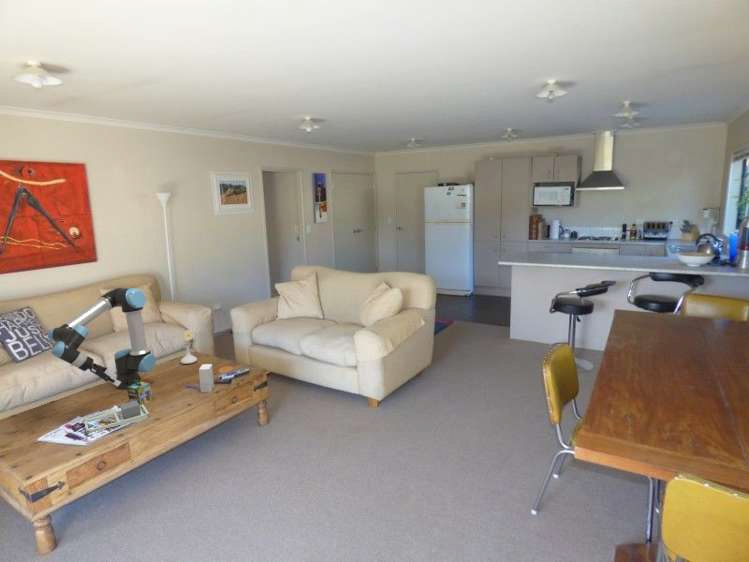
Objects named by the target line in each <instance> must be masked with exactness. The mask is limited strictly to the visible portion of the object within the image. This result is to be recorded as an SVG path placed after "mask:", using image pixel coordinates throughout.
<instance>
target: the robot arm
mask: <svg viewBox="0 0 749 562" xmlns="http://www.w3.org/2000/svg"><path fill="white" fill-rule="evenodd" d="M146 301H147V296H146V295H145V292H144V291H143V290H141V289H138V288H135V287H133V288H132V287H131V288H130V287H128V288H127V287H117V288H114V289H111V290H109V291H107V292H105V293H104V294H102V295H101V296H100V297H98V299H97V301H95V302H94V303H92V304H91V305H90V306H88V307H87V308H85V309H84V310H82V311H81V312H80V313H78V314H77V315H75V316H74V317H72V318H71V319H69V320H68V321H67V322H65V323H63V324H62V325H61V326H57V327H52V328H50V329H49V331H48V333H47V337H48V339H49V340H50V341H53V342H57V343H56V344H55V345H54V346H53V348H52V349H51V355H53V356H55V357H56V358H58V359H60V360H62V361H64V362H66V363H68V364H70V365H71V367H73V366H74V367H75V368H78V369H79V370H81V371H83V372H86V371H88V370H89V371H90V372H91V373H93V374H94V375H96V376H97V377H99V378H100V379H102V380H104V382H105V383H107V382H109V383H110V384H113V385H114V387H115V389H117V390H127V389H126V388H127V387H129V386H131V385H133V384H135V382H134V380H138V381H140V382H143V381H142V377H141V376H140V374H139V373H149V372H151V371H152V370H153V369H154V368H155V366H156V364H157V357H156V356H155V354H152V353H151V348H150V347H148V345H147V340H146V339H147V338H146V334H145V328H144V323H143V316H142V311H143V309H144V306H145V304H146ZM118 307H119V308H121V312H122V313H124V314H125V318H126V326H127V331H128V335H129V341H130V346H131V348H125V349H122V350H119V351H117V352H115V353H114V356H113V357H114V359H113V360H114V365H115V369H116V371H115V372H116V373H114V372H112V371H110V370H109V369H108V367H104V366H102V365H99V364H97V363H95V362H94V358H92V357H91V356H87V355H86V354H85V353H84V352H81V351H79V350H78V349H79V348H80V346H81V345H82V343H83V342H84V341H85V339H86V338H87V336H88V335H89V333H90V330H89V329H88V328H87V327H85V326H87V325H89V324H90V323H91V322H93V321H94V320H95V319H97V318H98V317H100V316H101V315H103V313H105V312H106V311H111V310H112V309H114V308H118ZM137 383H138V382H137Z"/></svg>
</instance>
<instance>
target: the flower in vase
mask: <svg viewBox="0 0 749 562" xmlns="http://www.w3.org/2000/svg"><path fill="white" fill-rule="evenodd" d="M194 337H195V332H194V331H193V330H191V329H188V330H186V331H184V332H183V334H182V340H183V342H185V343H184V344H183V346H184V348H185V351H186V352H185V355H184V356H183V357H182V358H181V359H180V363H181V364H182V365H190V364H193V363H196V362H197V361H198V358H197V356H194V355H193V354H191V351H190V346H191V345H192V344H194V343H196V341H195V340H194V339H193V338H194Z"/></svg>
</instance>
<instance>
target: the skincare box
mask: <svg viewBox="0 0 749 562" xmlns="http://www.w3.org/2000/svg"><path fill="white" fill-rule="evenodd" d="M198 374H199V376H198V377H199V385H200V388H199V389H200V393H201V394H203V392H204V393H212V391H213V390H212V389H214V387H215V383H214V380H215V379H214V371H213V364H212V363H206V364H205V363H204V364H201V366H200V367H199V368H198Z"/></svg>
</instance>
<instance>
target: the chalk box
mask: <svg viewBox="0 0 749 562" xmlns="http://www.w3.org/2000/svg"><path fill="white" fill-rule="evenodd" d="M134 382H135V384H133V385H131V386H129V387H127V389H126V390H127V394H128V395H127V396H128V401H129V402H132V401H136V400H137V402H138V403H139V405H142V404H143V405H144V406H145V405H146V404H149V403H150V402H152V401H154V397H153V393H152V391H153V390H152V385H151V383H150V382H146V381H142V382H140V381H138V380H134ZM137 382H138V383H137Z"/></svg>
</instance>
